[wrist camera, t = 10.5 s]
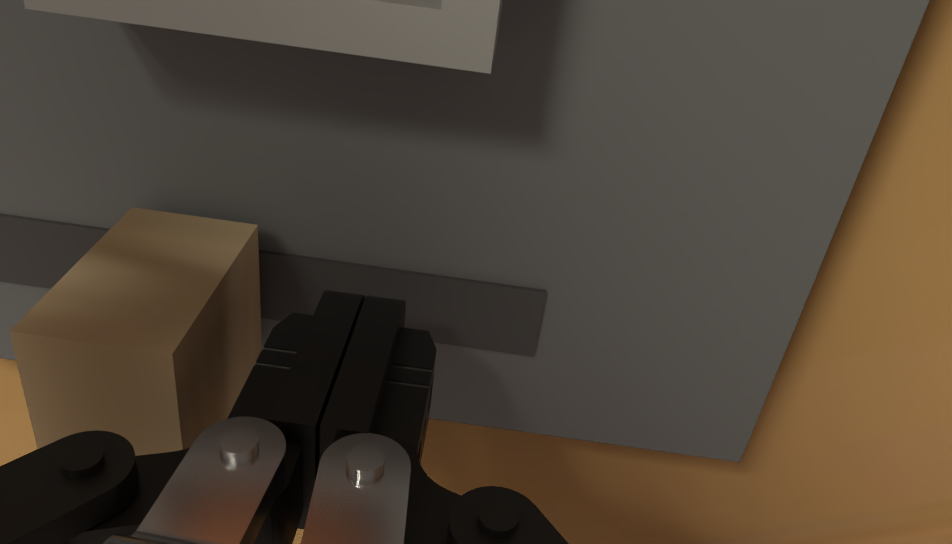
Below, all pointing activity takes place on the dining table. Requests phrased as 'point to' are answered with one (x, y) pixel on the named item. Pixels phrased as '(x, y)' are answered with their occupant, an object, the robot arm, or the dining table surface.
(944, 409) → the dining table surface
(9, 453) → the dining table surface
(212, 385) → the slide paddle
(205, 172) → the control panel
